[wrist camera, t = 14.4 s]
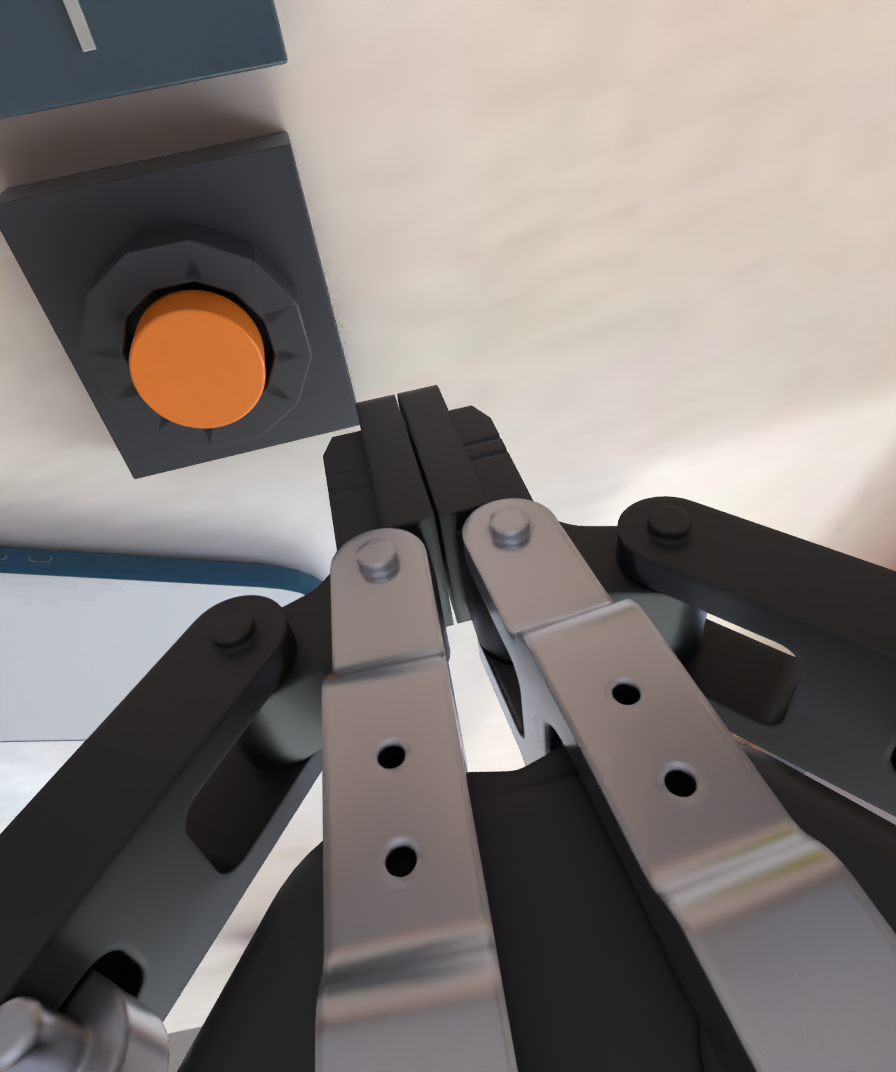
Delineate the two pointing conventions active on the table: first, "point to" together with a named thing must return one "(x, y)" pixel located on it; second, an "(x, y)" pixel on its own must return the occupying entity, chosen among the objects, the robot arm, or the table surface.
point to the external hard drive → (103, 628)
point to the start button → (197, 359)
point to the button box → (186, 287)
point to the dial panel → (126, 47)
